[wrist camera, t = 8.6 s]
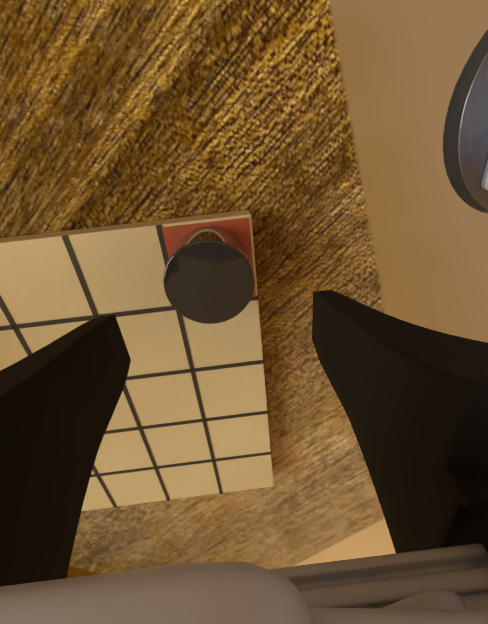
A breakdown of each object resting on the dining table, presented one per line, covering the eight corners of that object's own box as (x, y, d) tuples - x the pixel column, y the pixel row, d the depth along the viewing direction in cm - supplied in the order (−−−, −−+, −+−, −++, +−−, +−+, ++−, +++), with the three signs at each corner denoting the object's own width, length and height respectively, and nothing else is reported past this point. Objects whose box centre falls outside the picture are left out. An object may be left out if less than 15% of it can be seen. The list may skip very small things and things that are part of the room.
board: (248, 209, 17) (251, 214, 15) (271, 471, 29) (273, 487, 27) (-99, 249, 17) (-128, 257, 15) (69, 497, 29) (62, 515, 27)
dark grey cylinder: (245, 221, 16) (250, 234, 13) (252, 294, 18) (257, 319, 15) (164, 230, 16) (152, 246, 13) (180, 303, 18) (173, 329, 15)
